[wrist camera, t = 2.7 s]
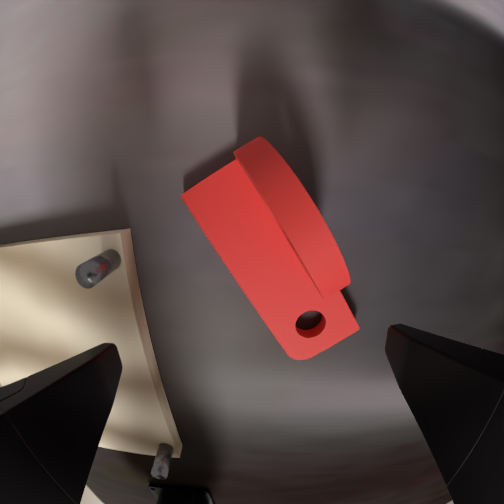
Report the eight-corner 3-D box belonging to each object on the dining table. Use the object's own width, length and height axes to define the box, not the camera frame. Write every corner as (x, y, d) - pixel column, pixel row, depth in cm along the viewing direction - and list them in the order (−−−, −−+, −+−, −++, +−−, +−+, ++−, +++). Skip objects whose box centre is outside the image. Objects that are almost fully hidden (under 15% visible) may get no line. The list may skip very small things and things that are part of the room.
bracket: (184, 194, 16) (130, 207, 8) (254, 149, 15) (262, 119, 8) (293, 355, 18) (316, 448, 11) (354, 320, 18) (408, 398, 10)
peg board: (182, 445, 20) (174, 485, 16) (30, 416, 20) (11, 441, 16) (130, 228, 16) (94, 244, 12) (-33, 250, 16) (-67, 263, 12)
